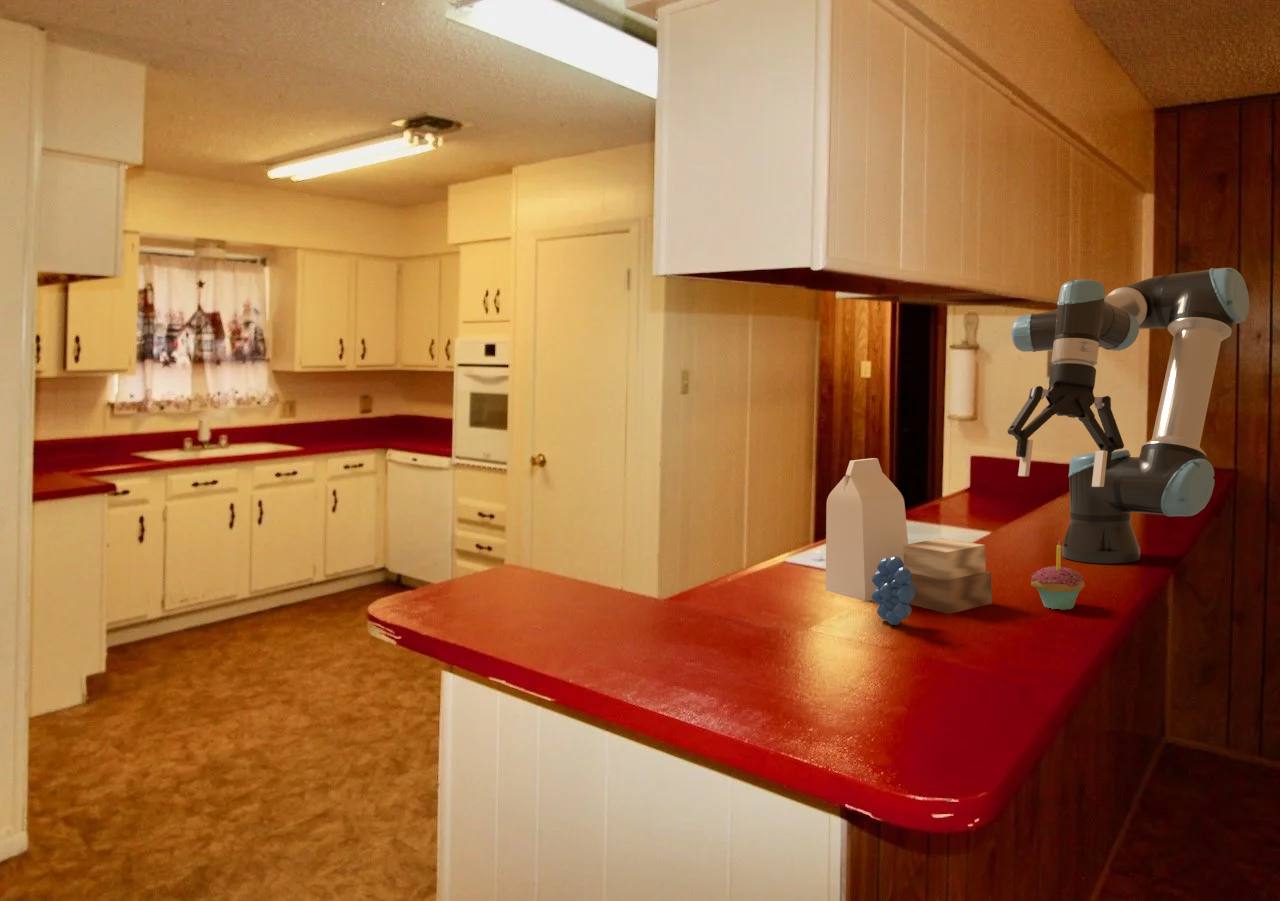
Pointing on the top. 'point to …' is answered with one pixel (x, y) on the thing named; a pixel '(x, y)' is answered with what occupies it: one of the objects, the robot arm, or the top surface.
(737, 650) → the top surface
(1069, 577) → the cupcake
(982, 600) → the block bottom
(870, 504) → the milk
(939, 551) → the block top
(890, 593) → the grapes
